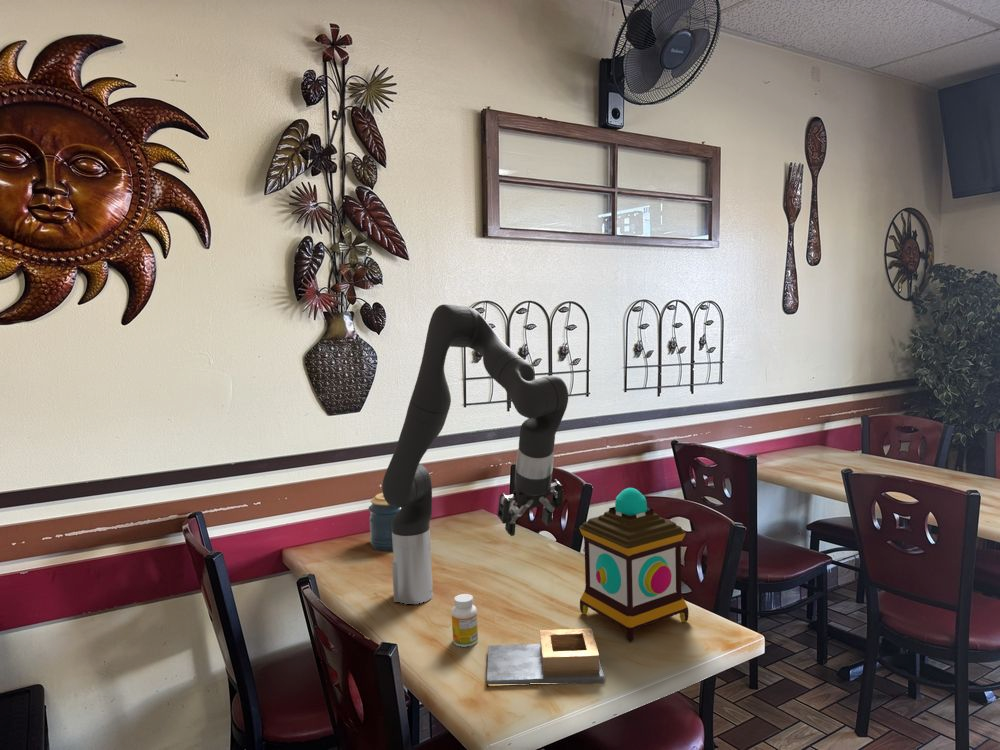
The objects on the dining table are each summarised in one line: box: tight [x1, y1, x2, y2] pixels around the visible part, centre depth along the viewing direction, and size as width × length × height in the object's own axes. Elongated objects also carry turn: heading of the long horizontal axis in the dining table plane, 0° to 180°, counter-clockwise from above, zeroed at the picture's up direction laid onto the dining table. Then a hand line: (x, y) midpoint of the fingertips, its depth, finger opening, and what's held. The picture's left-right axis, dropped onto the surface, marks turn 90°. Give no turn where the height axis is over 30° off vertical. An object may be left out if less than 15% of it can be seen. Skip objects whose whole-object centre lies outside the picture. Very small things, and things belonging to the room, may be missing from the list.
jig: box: [486, 628, 605, 685], centre depth 131 cm, size 22×13×5 cm, turn 90°
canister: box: [368, 492, 401, 552], centre depth 203 cm, size 13×13×18 cm
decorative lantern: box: [578, 487, 689, 643], centre depth 148 cm, size 20×20×30 cm
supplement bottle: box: [451, 593, 479, 648], centre depth 141 cm, size 5×5×10 cm
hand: (528, 528), depth 142 cm, fingers open, 8 cm apart
